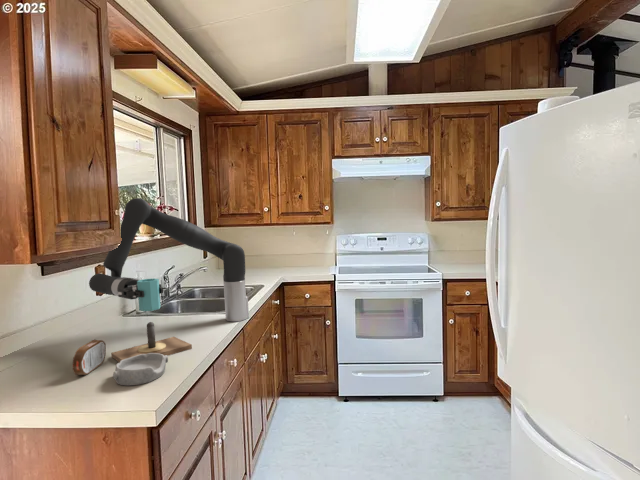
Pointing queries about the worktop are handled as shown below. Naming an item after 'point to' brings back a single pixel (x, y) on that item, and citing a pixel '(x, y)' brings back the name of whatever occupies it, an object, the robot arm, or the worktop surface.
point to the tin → (89, 357)
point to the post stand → (153, 346)
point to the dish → (140, 369)
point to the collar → (149, 294)
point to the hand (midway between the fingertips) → (152, 292)
